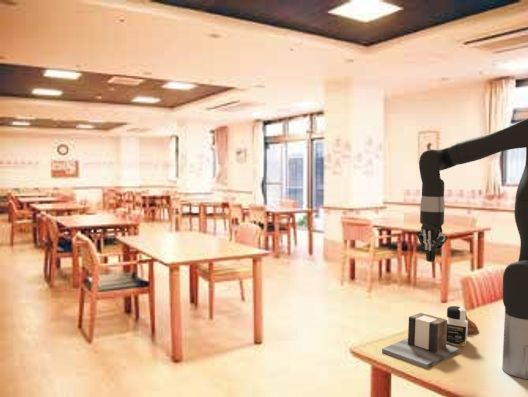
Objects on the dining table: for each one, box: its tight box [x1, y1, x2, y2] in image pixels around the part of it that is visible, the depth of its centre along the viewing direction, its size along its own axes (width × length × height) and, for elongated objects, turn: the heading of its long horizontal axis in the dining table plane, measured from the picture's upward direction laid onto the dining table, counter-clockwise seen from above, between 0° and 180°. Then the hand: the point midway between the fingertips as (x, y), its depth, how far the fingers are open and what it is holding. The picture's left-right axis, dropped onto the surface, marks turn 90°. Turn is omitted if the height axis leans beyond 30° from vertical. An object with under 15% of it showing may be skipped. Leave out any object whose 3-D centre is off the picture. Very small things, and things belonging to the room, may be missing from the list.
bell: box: [466, 314, 479, 335], centre depth 177 cm, size 12×12×7 cm
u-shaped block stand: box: [381, 312, 460, 369], centre depth 154 cm, size 20×16×10 cm
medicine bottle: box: [445, 305, 468, 347], centre depth 164 cm, size 7×7×12 cm
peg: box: [415, 316, 437, 350], centre depth 156 cm, size 5×5×9 cm
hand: (430, 261), depth 158 cm, fingers closed
